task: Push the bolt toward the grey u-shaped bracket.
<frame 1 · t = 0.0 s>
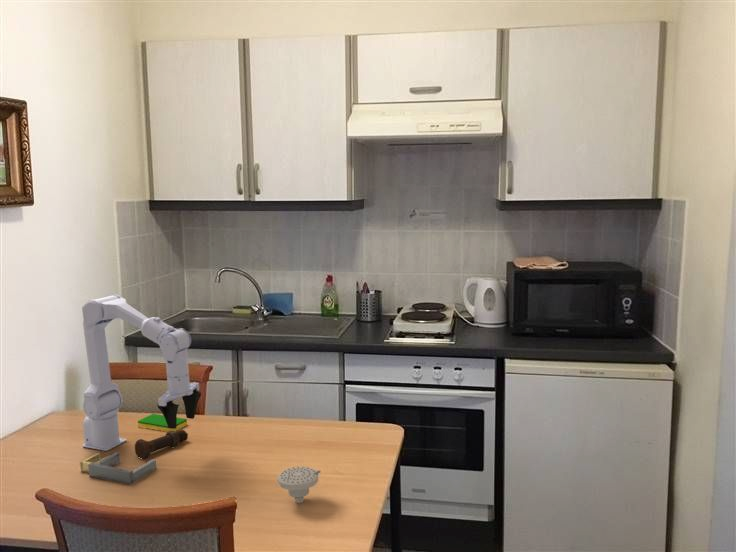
hand: (181, 422, 178), 10 cm above the table, tool pointing down, fingers open, 7 cm apart
showerhead: (300, 501, 154), on the table
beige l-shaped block: (96, 467, 175), on the table
bolt: (164, 450, 186), on the table
grey u-shaped bracket: (124, 472, 172), on the table
dish sponge: (162, 427, 204), on the table
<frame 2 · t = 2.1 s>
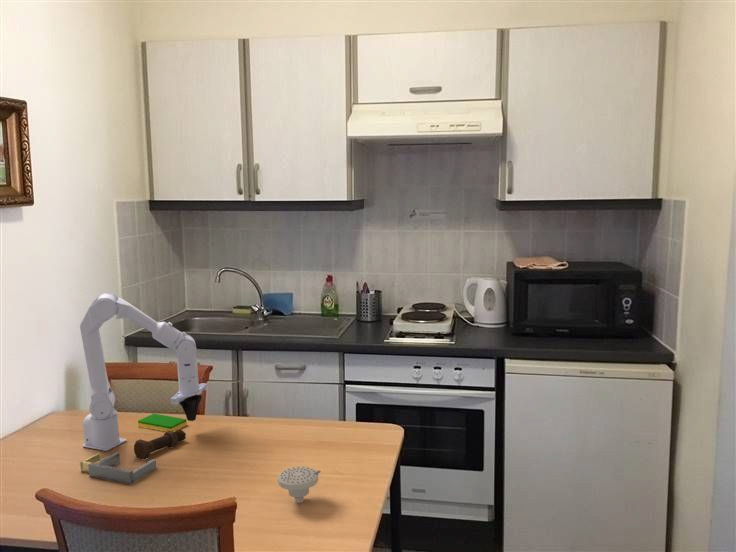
hand: (191, 420, 196), 4 cm above the table, tool pointing down, fingers closed
nothing on the table moved.
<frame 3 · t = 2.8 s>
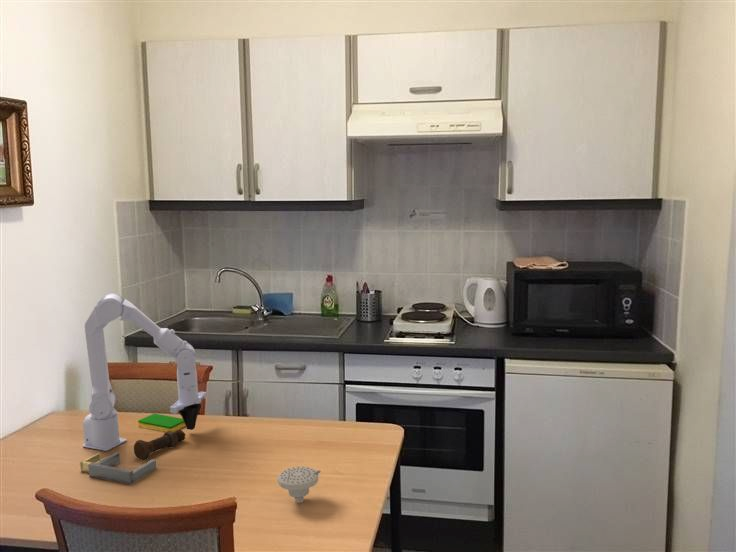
hand: (190, 428, 196), 2 cm above the table, tool pointing down, fingers closed
nothing on the table moved.
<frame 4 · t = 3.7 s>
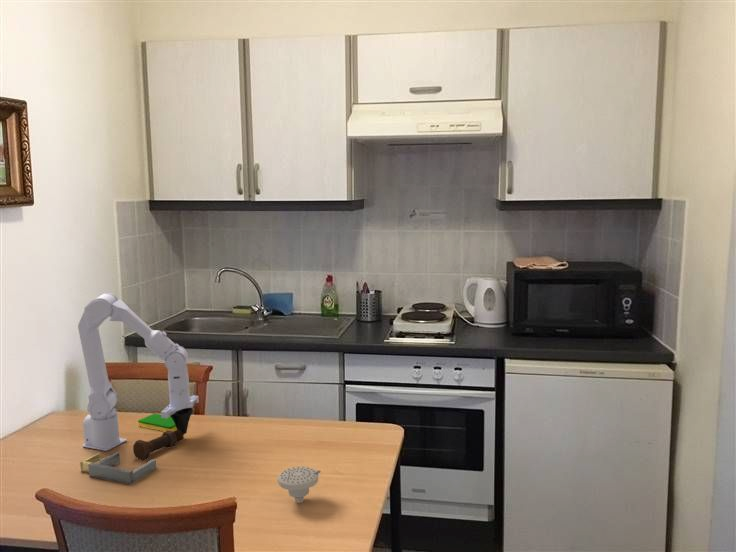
hand: (182, 433, 193), 2 cm above the table, tool pointing down, fingers closed
bolt: (161, 451, 185), on the table, touching gripper
everything else where it was.
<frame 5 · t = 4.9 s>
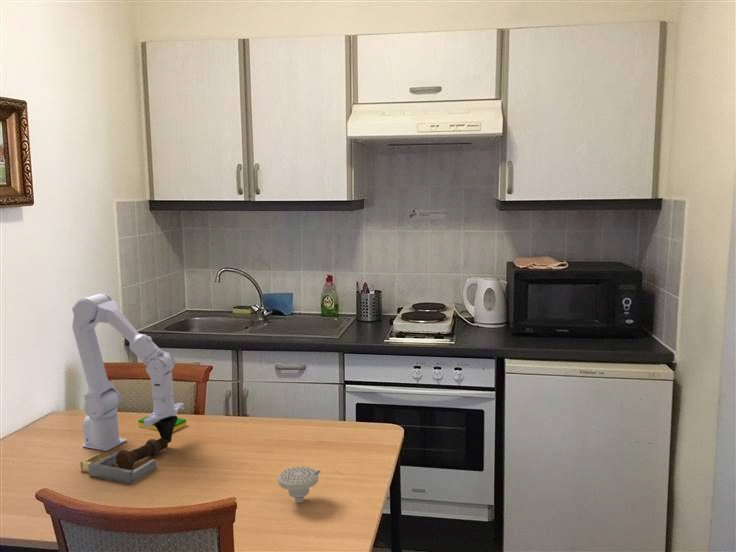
hand: (166, 442, 187), 2 cm above the table, tool pointing down, fingers closed
bolt: (145, 460, 179), on the table, touching gripper
everything else where it was.
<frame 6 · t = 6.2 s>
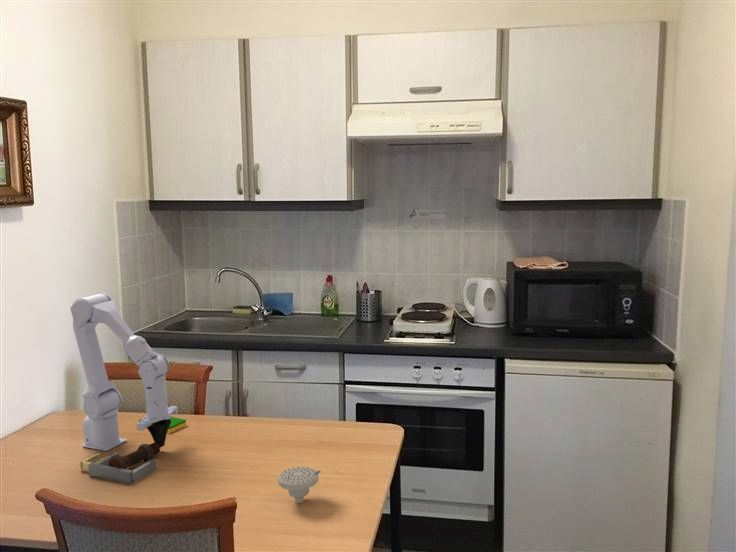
hand: (160, 445, 184), 2 cm above the table, tool pointing down, fingers closed
bolt: (138, 465, 176), on the table
everything else where it was.
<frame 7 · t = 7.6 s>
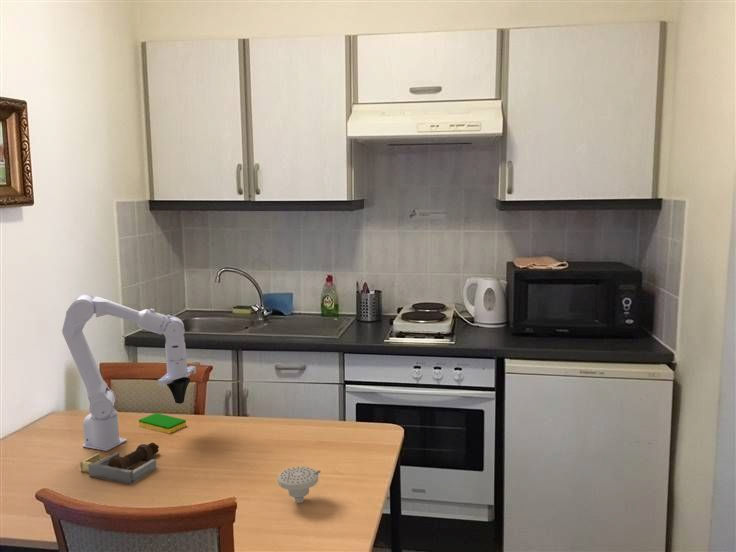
hand: (179, 402, 195), 10 cm above the table, tool pointing down, fingers closed
nothing on the table moved.
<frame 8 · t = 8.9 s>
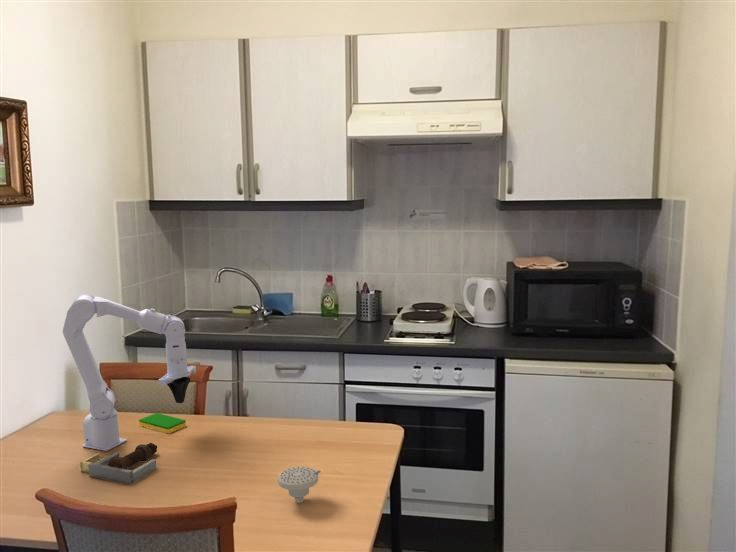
hand: (179, 402, 195), 10 cm above the table, tool pointing down, fingers closed
nothing on the table moved.
at the end: bolt inside the target area (0.4 cm from its centre), on the table; bolt moved 10.8 cm from its start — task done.
